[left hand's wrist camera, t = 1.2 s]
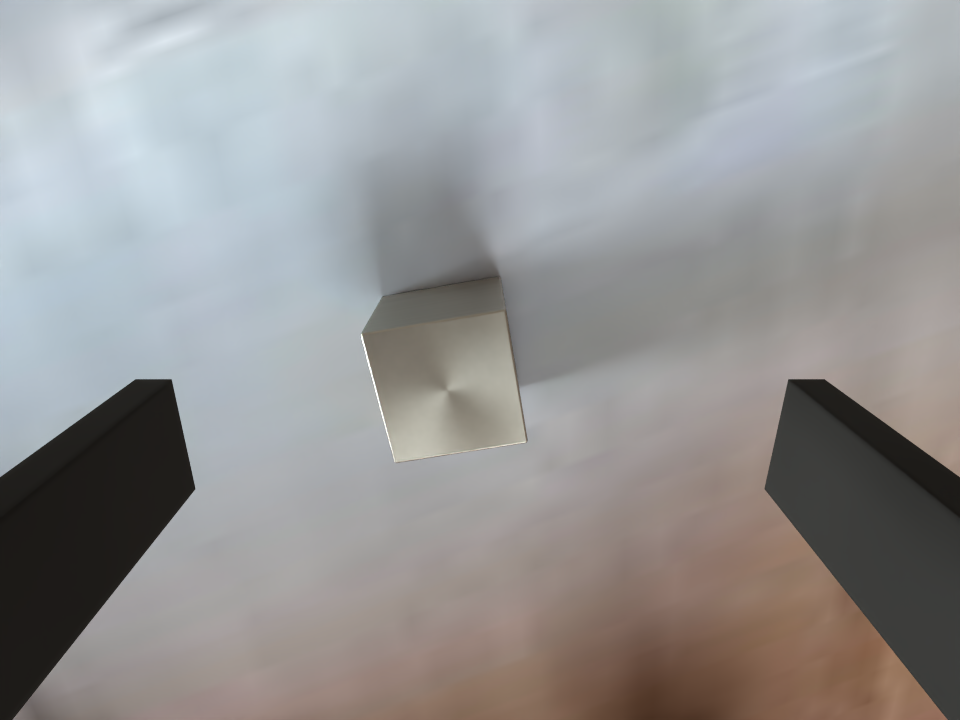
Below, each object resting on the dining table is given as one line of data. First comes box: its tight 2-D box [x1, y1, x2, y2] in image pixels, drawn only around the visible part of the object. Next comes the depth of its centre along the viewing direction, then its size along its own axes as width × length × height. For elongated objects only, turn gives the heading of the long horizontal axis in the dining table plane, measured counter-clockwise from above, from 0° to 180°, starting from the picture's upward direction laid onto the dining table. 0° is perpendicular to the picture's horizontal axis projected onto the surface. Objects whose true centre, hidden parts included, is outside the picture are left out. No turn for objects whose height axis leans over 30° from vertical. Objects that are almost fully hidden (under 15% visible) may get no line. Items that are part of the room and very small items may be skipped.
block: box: [361, 277, 527, 463], centre depth 22 cm, size 5×5×5 cm
